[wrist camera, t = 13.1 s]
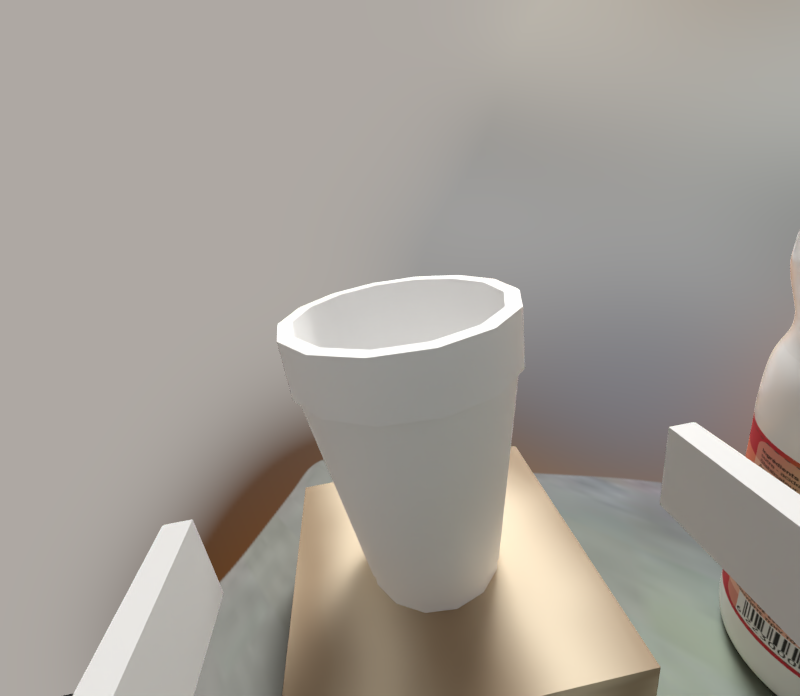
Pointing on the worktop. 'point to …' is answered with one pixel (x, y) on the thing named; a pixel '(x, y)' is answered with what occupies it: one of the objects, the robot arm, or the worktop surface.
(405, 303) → the foam cup
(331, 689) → the maple block
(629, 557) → the worktop surface
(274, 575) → the worktop surface
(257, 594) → the worktop surface
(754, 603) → the fruit juice
